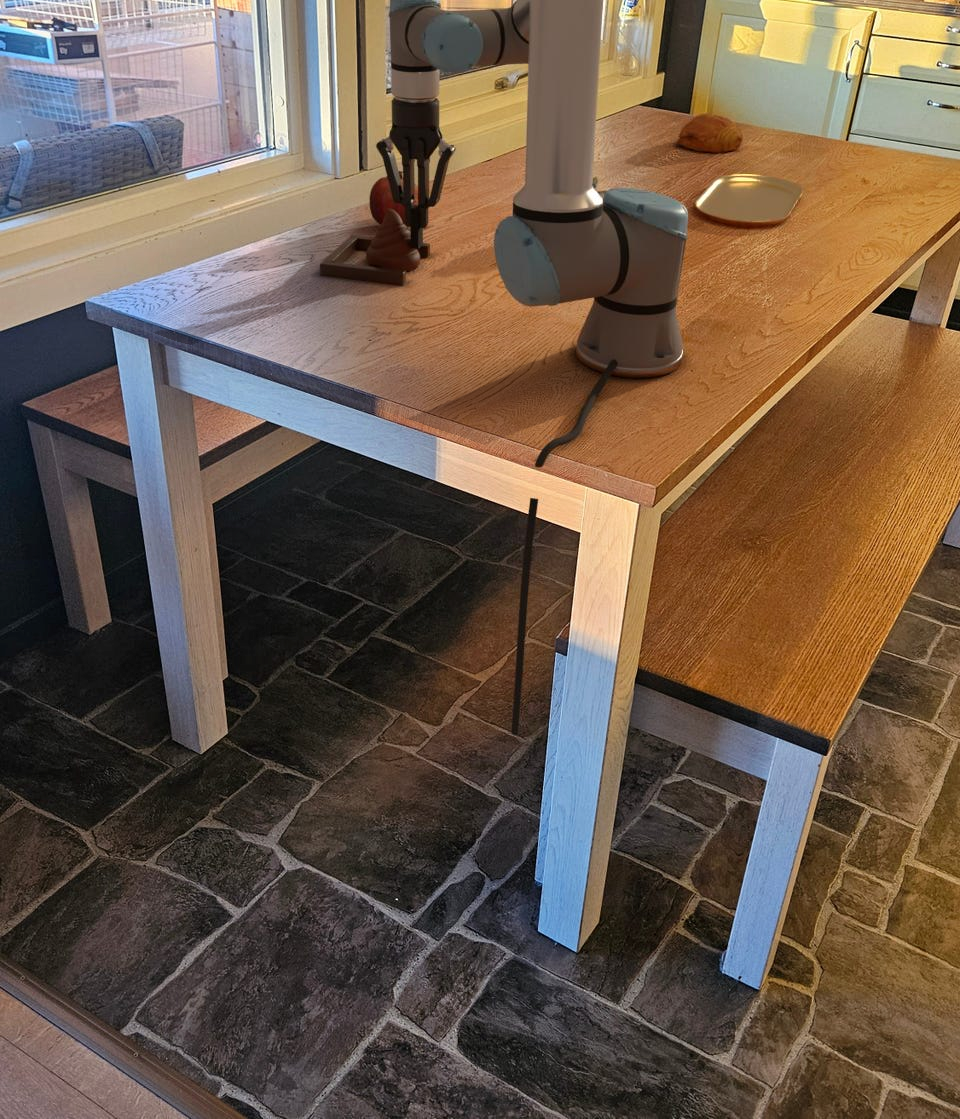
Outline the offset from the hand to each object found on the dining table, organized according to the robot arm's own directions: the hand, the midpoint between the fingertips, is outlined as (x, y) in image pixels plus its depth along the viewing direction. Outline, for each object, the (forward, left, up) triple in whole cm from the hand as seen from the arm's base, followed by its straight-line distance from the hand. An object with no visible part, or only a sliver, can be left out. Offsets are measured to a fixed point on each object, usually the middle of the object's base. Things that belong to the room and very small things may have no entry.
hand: (416, 246), depth 183 cm
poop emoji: (+1, +4, -4) cm, 6 cm away
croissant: (+106, -42, -4) cm, 114 cm away
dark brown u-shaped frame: (0, +7, -4) cm, 8 cm away
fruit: (+21, +10, -4) cm, 24 cm away
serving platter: (+60, -54, -4) cm, 80 cm away
